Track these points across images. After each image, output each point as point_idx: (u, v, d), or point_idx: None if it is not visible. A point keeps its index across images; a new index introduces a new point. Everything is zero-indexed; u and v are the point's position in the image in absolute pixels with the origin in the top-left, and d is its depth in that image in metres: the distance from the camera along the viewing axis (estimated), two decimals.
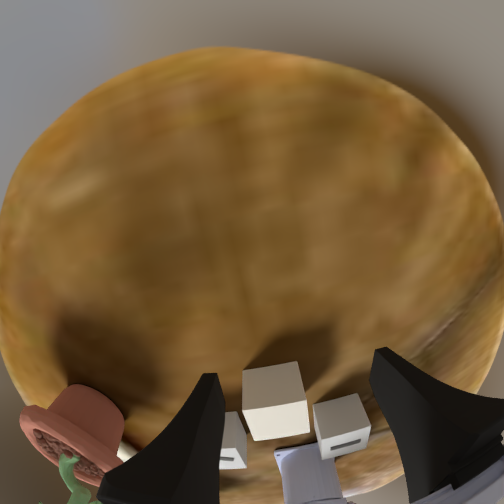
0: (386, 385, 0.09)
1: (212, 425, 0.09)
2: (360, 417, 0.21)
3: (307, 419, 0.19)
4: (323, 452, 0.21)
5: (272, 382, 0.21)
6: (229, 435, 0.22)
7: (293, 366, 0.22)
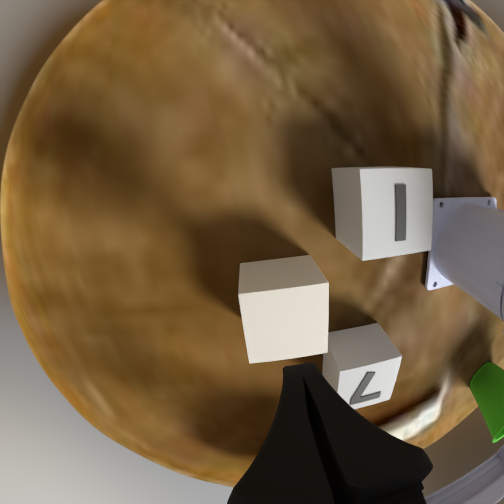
0: (306, 403, 0.09)
1: None
2: (351, 180, 0.14)
3: (289, 289, 0.15)
4: (407, 251, 0.14)
5: None
6: (333, 362, 0.18)
7: None
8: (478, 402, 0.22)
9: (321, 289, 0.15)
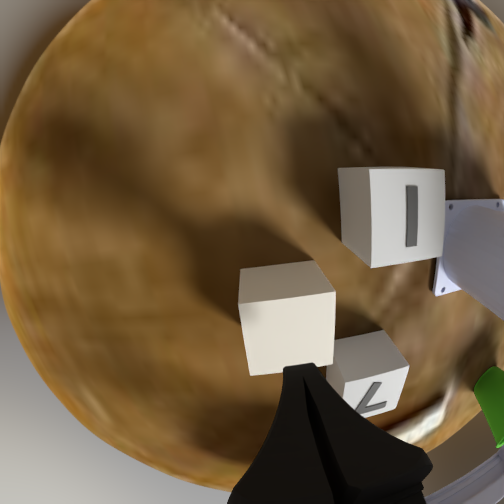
0: (306, 403, 0.09)
1: None
2: (359, 181, 0.13)
3: (293, 299, 0.13)
4: (417, 257, 0.13)
5: None
6: (338, 372, 0.17)
7: None
8: (483, 407, 0.21)
9: (327, 298, 0.13)
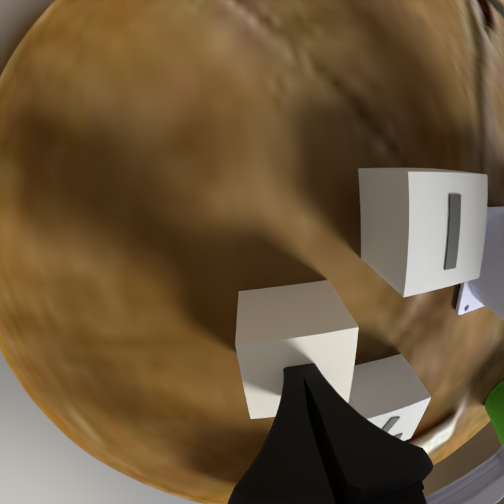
0: (306, 403, 0.09)
1: None
2: (391, 186, 0.10)
3: (305, 338, 0.10)
4: (455, 281, 0.10)
5: None
6: None
7: None
8: (494, 422, 0.17)
9: (348, 335, 0.10)
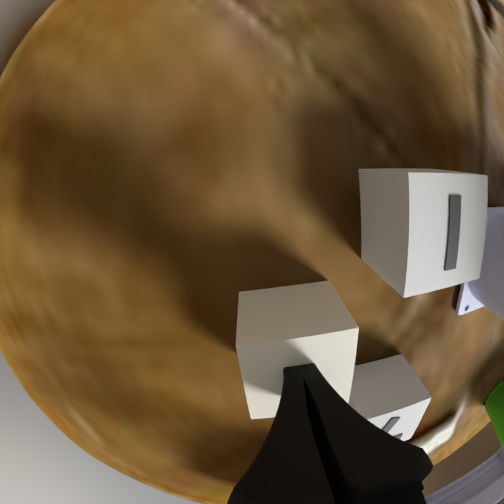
0: (306, 403, 0.09)
1: None
2: (391, 187, 0.10)
3: (306, 338, 0.10)
4: (455, 281, 0.10)
5: None
6: (351, 406, 0.14)
7: None
8: (494, 422, 0.17)
9: (348, 336, 0.10)
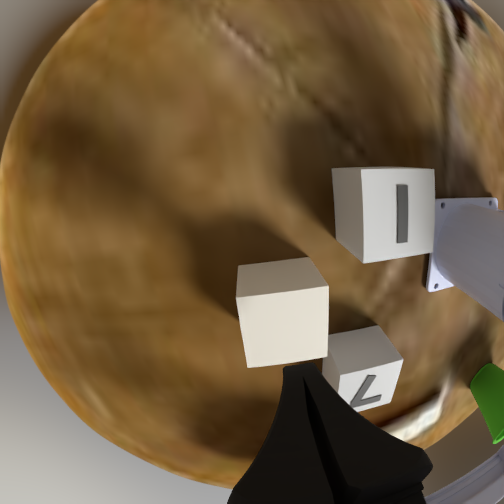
0: (306, 403, 0.09)
1: None
2: (351, 180, 0.14)
3: (288, 293, 0.14)
4: (408, 253, 0.14)
5: None
6: (333, 365, 0.18)
7: None
8: (479, 403, 0.22)
9: (321, 292, 0.14)
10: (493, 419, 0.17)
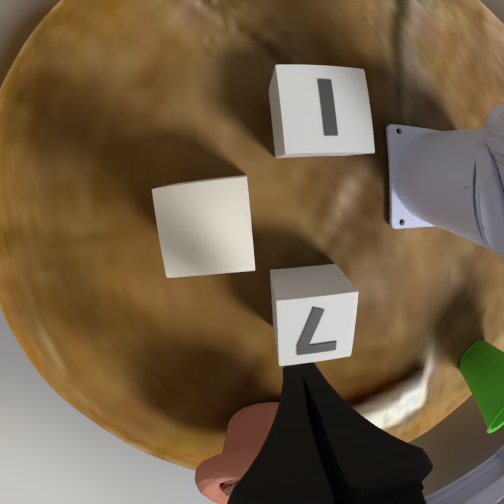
0: (306, 403, 0.09)
1: None
2: (274, 83, 0.13)
3: (202, 183, 0.13)
4: (342, 149, 0.13)
5: None
6: (274, 296, 0.17)
7: None
8: (470, 385, 0.21)
9: (238, 184, 0.13)
10: (487, 402, 0.16)
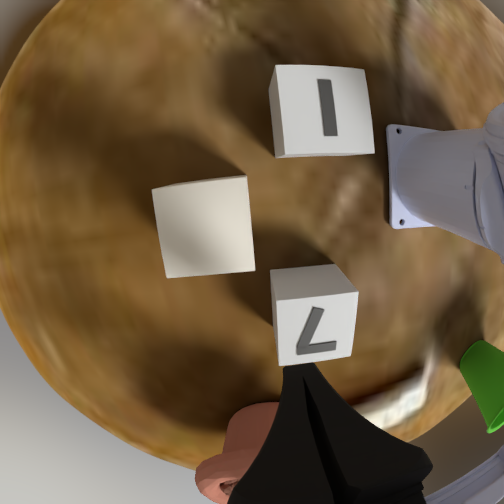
0: (306, 403, 0.09)
1: None
2: (274, 83, 0.13)
3: (202, 183, 0.13)
4: (342, 149, 0.13)
5: None
6: (274, 296, 0.17)
7: None
8: (470, 385, 0.21)
9: (238, 185, 0.13)
10: (487, 402, 0.16)
